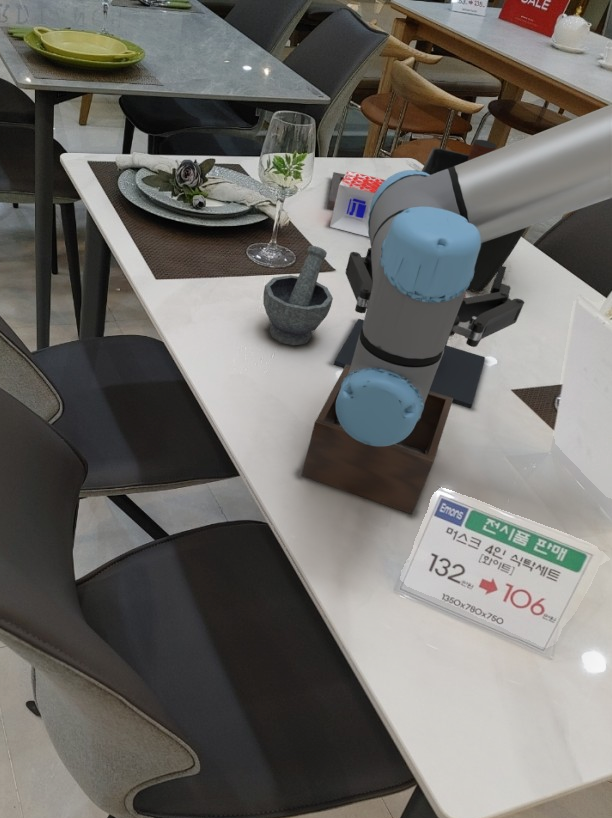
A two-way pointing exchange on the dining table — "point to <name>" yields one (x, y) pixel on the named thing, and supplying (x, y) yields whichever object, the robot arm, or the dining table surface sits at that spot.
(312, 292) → the mortar and pestle
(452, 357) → the slate mat
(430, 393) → the open wooden box
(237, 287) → the dining table surface
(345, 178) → the red and white box
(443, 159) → the flower pot
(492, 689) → the dining table surface
